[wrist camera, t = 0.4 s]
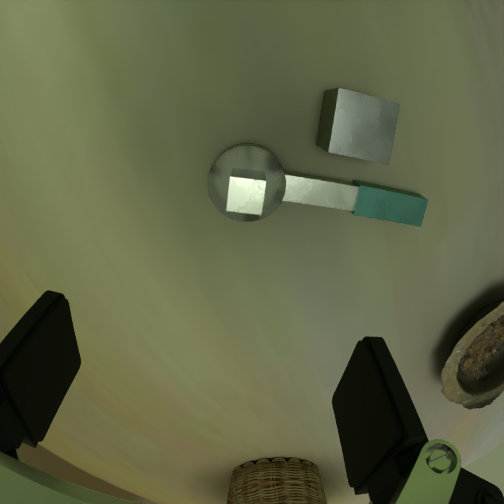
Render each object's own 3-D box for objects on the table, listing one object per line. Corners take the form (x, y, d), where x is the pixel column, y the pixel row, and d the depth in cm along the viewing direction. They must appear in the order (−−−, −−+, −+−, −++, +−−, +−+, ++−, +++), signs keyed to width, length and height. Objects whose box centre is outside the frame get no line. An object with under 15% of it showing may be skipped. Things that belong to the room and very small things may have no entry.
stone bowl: (513, 359, 50) (530, 388, 42) (419, 389, 54) (430, 425, 46) (544, 263, 39) (572, 290, 31) (437, 289, 43) (461, 327, 35)
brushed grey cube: (324, 90, 31) (338, 87, 25) (376, 103, 31) (399, 104, 26) (315, 144, 34) (328, 152, 28) (367, 155, 34) (388, 165, 28)
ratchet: (215, 139, 33) (205, 147, 27) (422, 176, 35) (454, 192, 28) (208, 208, 37) (198, 232, 30) (406, 235, 38) (432, 261, 31)
